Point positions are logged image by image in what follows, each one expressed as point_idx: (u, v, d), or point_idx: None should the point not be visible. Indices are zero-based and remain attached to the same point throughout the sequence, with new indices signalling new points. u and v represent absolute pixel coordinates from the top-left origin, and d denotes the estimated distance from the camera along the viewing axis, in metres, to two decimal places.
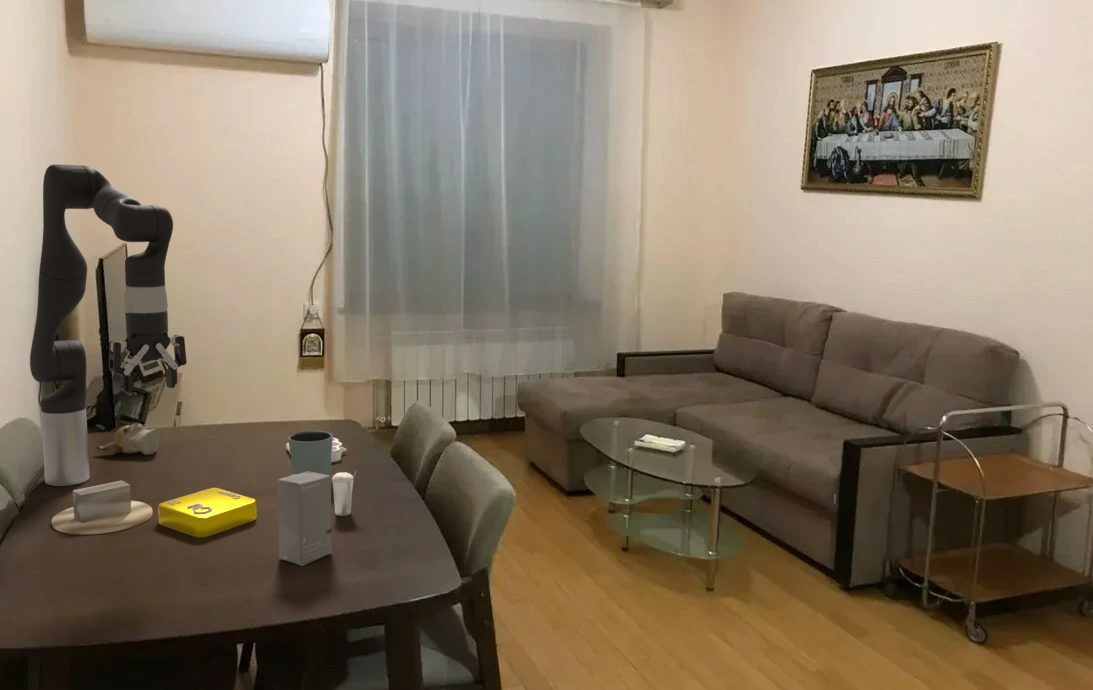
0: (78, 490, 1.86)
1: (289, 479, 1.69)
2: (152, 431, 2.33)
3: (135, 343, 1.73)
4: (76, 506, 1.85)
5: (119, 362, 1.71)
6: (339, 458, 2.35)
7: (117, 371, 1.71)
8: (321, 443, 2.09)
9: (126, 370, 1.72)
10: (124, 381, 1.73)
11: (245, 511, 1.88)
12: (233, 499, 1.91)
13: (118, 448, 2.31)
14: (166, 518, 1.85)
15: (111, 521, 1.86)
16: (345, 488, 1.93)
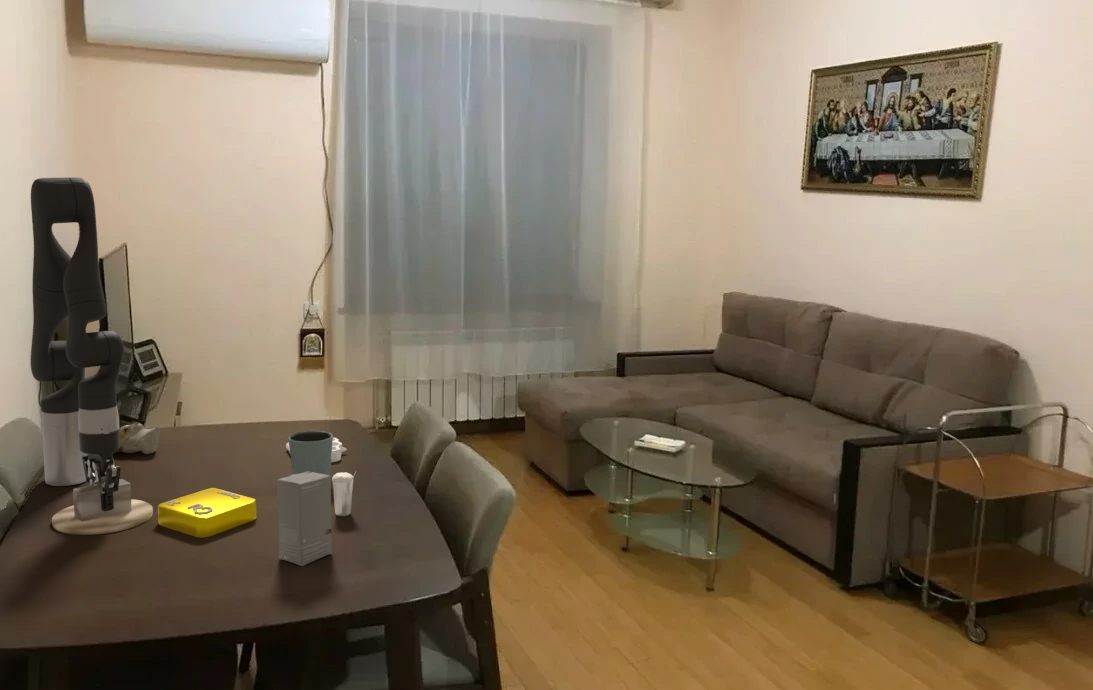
0: (78, 488, 1.86)
1: (289, 479, 1.69)
2: (152, 430, 2.34)
3: None
4: (76, 504, 1.85)
5: None
6: (339, 458, 2.35)
7: None
8: (321, 443, 2.09)
9: None
10: None
11: (245, 511, 1.88)
12: (233, 499, 1.91)
13: None
14: (166, 519, 1.84)
15: (111, 519, 1.85)
16: (345, 488, 1.93)
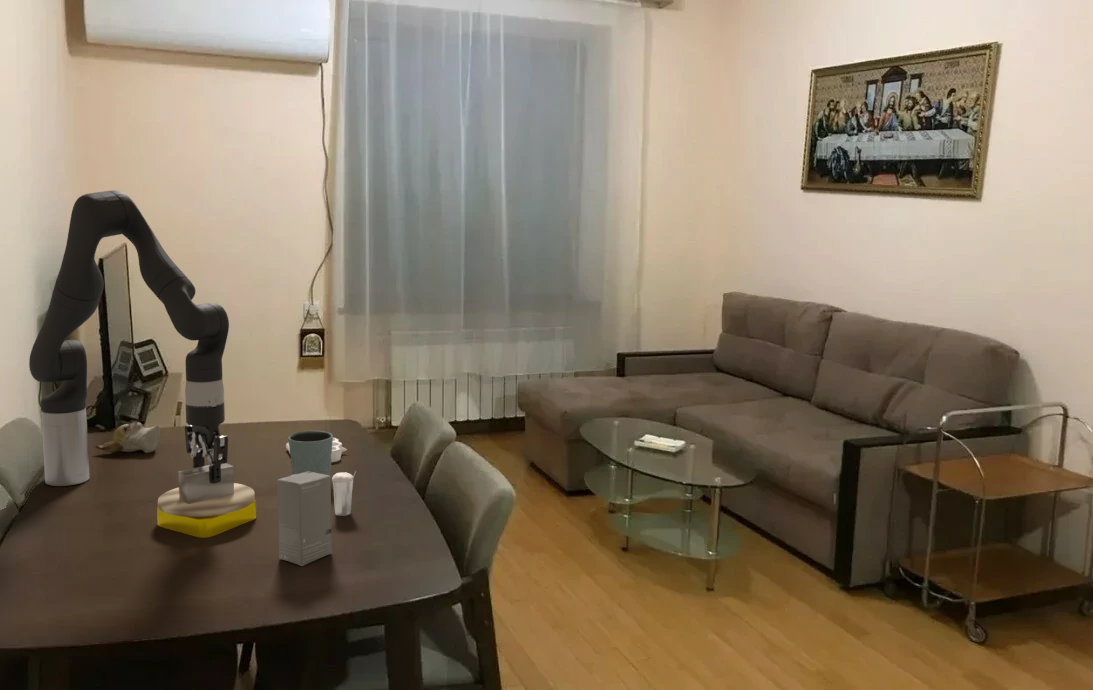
0: (184, 471, 1.86)
1: (289, 479, 1.69)
2: (153, 429, 2.35)
3: None
4: (182, 487, 1.85)
5: None
6: (339, 458, 2.35)
7: None
8: (321, 443, 2.09)
9: None
10: None
11: (246, 511, 1.89)
12: None
13: (118, 447, 2.33)
14: (166, 521, 1.84)
15: (216, 502, 1.85)
16: (345, 488, 1.93)
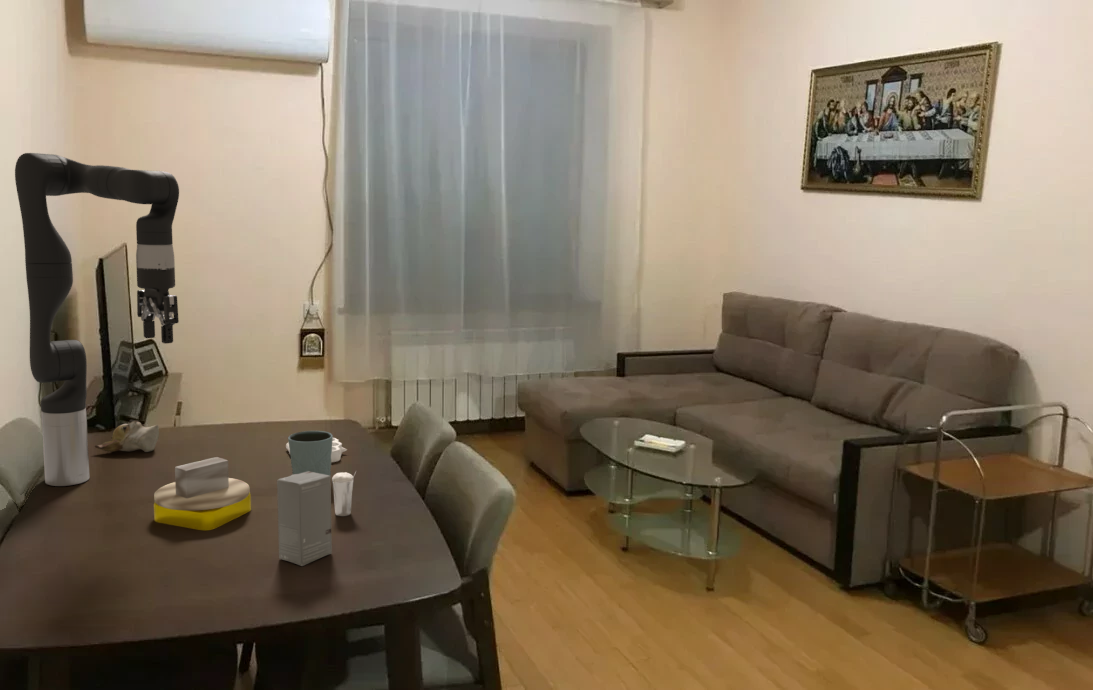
0: (180, 466, 1.89)
1: (289, 479, 1.69)
2: (152, 428, 2.36)
3: None
4: (179, 482, 1.88)
5: None
6: (338, 458, 2.35)
7: None
8: (321, 443, 2.09)
9: None
10: None
11: (243, 504, 1.93)
12: None
13: (118, 446, 2.33)
14: (165, 516, 1.87)
15: (214, 495, 1.89)
16: (345, 488, 1.93)
